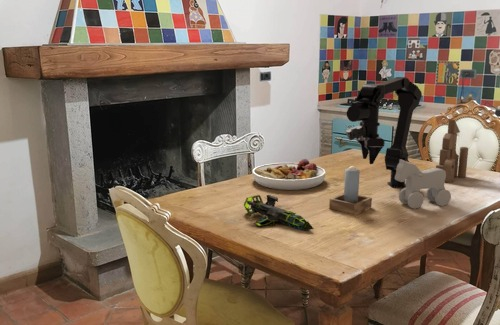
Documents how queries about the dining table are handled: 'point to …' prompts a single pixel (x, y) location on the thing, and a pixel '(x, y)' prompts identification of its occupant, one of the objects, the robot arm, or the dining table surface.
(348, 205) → the square wooden tray
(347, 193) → the blue bottle
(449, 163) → the wooden toy
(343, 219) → the dining table surface
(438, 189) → the pony
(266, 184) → the bowl
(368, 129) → the robot arm
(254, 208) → the aircraft
